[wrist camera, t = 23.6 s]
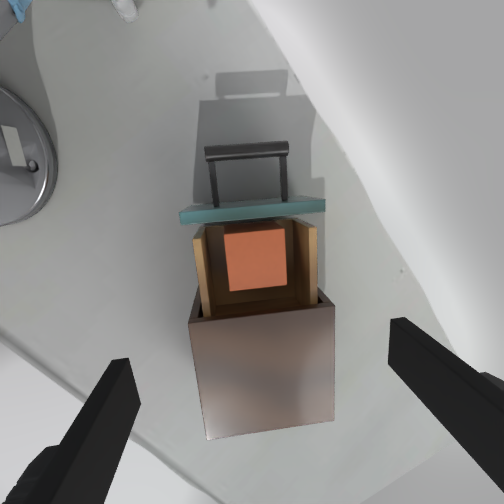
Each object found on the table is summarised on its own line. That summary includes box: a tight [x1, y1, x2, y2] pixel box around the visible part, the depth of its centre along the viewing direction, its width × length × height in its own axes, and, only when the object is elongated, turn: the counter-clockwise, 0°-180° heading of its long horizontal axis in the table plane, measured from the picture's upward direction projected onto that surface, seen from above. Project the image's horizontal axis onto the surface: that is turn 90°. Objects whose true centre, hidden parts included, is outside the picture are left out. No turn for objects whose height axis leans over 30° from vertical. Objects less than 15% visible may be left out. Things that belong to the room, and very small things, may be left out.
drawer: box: [179, 141, 325, 317], centre depth 28 cm, size 19×14×8 cm
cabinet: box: [188, 285, 335, 440], centre depth 32 cm, size 15×15×10 cm
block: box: [224, 220, 287, 291], centre depth 29 cm, size 6×6×6 cm
